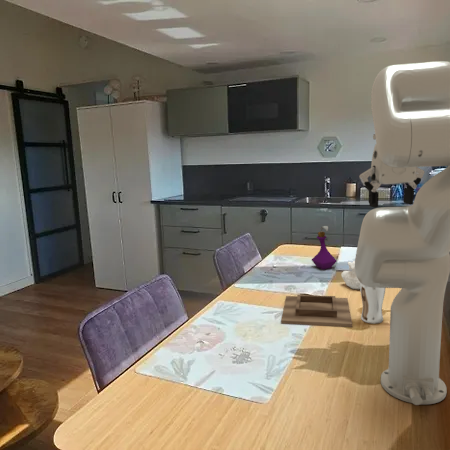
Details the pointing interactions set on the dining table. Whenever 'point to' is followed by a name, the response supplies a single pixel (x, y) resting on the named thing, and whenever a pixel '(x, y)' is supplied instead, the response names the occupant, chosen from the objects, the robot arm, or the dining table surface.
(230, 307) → the dining table surface
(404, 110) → the robot arm
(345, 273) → the bust
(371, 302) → the white piece
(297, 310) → the walnut stand
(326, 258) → the perfume bottle
